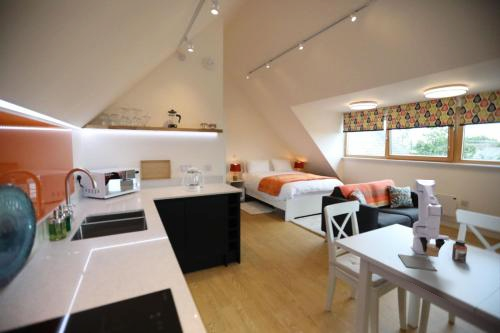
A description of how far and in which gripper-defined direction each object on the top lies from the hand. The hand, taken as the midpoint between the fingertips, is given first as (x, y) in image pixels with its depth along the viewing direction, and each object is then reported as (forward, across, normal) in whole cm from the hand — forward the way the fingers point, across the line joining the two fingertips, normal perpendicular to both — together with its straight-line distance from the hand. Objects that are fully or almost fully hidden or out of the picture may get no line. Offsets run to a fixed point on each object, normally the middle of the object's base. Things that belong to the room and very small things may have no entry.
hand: (430, 251), depth 125 cm
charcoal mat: (+8, -5, +2) cm, 10 cm away
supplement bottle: (+9, +19, +12) cm, 24 cm away
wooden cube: (+2, 0, 0) cm, 2 cm away
